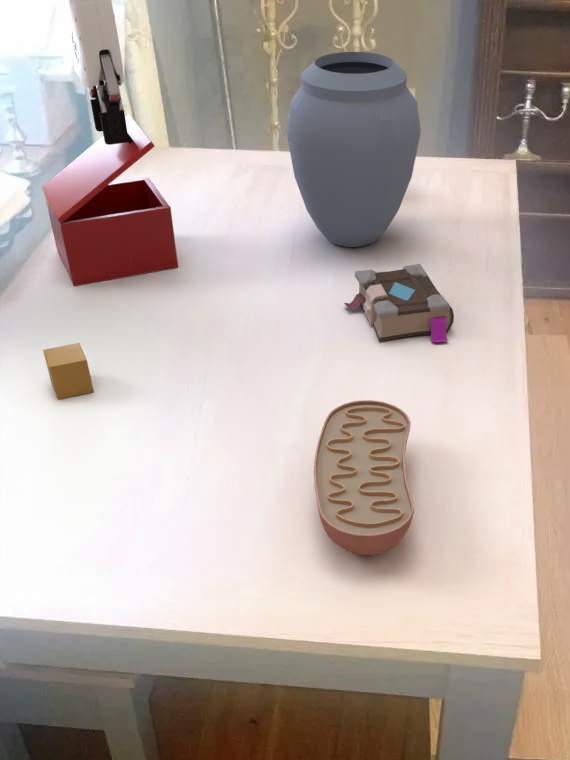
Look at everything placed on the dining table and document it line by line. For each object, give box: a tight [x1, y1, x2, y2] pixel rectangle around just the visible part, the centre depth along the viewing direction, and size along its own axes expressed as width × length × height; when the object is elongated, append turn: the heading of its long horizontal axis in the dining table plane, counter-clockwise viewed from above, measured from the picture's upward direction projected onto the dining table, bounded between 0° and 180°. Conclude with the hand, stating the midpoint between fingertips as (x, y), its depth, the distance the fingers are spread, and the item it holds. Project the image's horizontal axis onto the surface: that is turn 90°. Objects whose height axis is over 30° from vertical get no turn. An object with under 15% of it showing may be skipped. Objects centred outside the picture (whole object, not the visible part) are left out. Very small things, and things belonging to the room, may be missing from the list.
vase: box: [285, 51, 422, 248], centre depth 132 cm, size 20×20×24 cm
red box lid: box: [41, 107, 155, 223], centre depth 124 cm, size 16×13×5 cm
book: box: [343, 263, 455, 343], centre depth 122 cm, size 20×12×5 cm, turn 14°
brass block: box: [42, 342, 95, 400], centre depth 108 cm, size 4×4×4 cm
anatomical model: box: [313, 399, 415, 556], centre depth 92 cm, size 23×10×5 cm, turn 178°
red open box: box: [43, 176, 179, 287], centre depth 132 cm, size 16×13×9 cm
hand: (111, 134), depth 124 cm, fingers closed on red box lid, 5 cm apart
